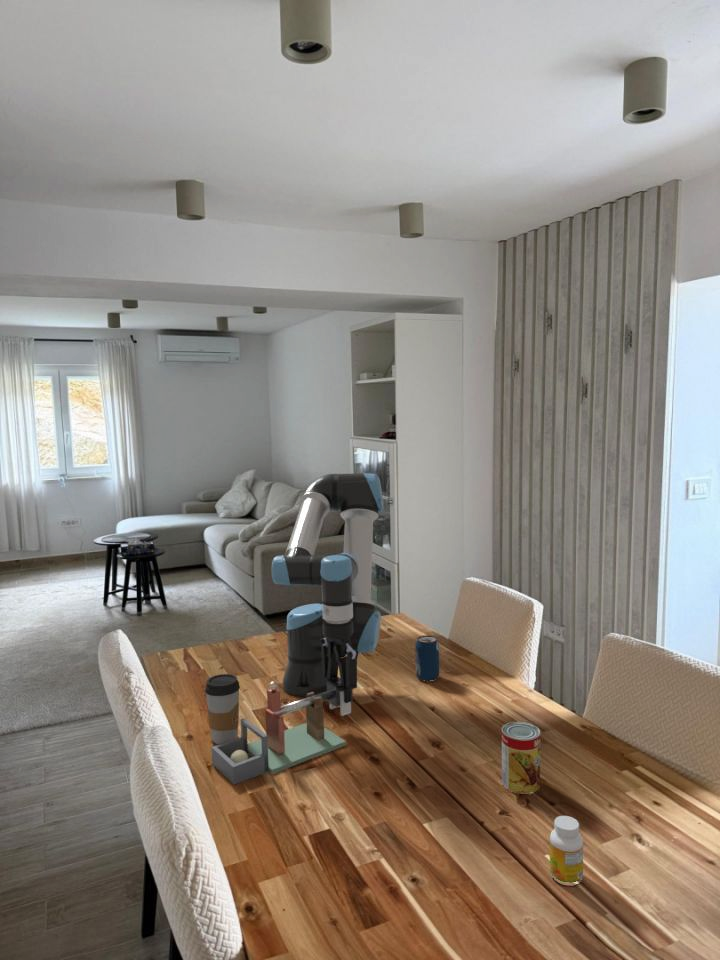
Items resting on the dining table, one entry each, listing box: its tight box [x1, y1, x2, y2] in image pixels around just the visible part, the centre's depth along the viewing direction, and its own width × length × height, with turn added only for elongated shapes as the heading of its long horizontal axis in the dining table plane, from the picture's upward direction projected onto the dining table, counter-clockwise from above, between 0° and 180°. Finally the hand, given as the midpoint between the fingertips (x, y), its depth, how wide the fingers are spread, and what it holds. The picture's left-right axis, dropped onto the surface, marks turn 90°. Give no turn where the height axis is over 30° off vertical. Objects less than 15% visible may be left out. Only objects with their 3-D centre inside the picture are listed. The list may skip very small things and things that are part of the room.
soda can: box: [414, 635, 440, 681], centre depth 198 cm, size 7×7×12 cm
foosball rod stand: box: [265, 677, 354, 755], centre depth 161 cm, size 22×6×16 cm, turn 127°
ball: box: [230, 750, 249, 764], centre depth 151 cm, size 4×4×4 cm
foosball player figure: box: [305, 692, 325, 740], centre depth 162 cm, size 2×5×11 cm, turn 37°
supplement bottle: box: [549, 815, 584, 883], centre depth 113 cm, size 5×5×10 cm
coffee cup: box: [204, 673, 241, 745], centre depth 164 cm, size 8×8×15 cm
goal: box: [211, 717, 269, 786], centre depth 150 cm, size 8×11×8 cm
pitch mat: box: [247, 722, 347, 775], centre depth 159 cm, size 20×14×1 cm
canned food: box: [501, 721, 541, 794], centre depth 141 cm, size 8×8×12 cm
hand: (340, 710), depth 167 cm, fingers closed on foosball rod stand, 4 cm apart
